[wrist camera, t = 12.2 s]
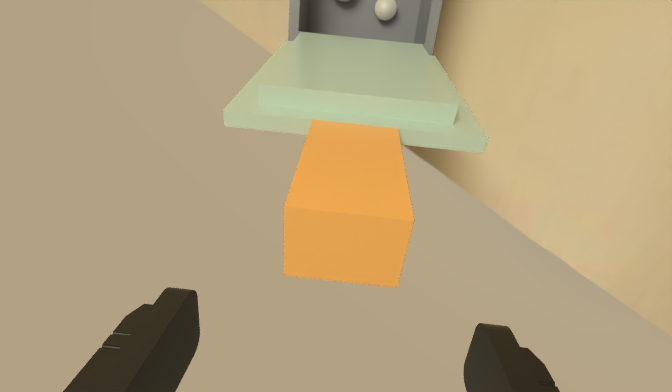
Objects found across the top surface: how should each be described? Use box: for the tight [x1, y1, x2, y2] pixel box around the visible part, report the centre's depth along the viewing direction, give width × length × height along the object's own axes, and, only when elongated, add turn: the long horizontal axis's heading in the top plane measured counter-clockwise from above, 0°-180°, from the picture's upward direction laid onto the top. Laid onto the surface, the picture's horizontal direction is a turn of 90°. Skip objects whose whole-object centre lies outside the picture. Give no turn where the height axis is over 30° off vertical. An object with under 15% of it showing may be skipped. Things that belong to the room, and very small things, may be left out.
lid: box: [223, 32, 488, 288], centre depth 21 cm, size 12×23×4 cm
